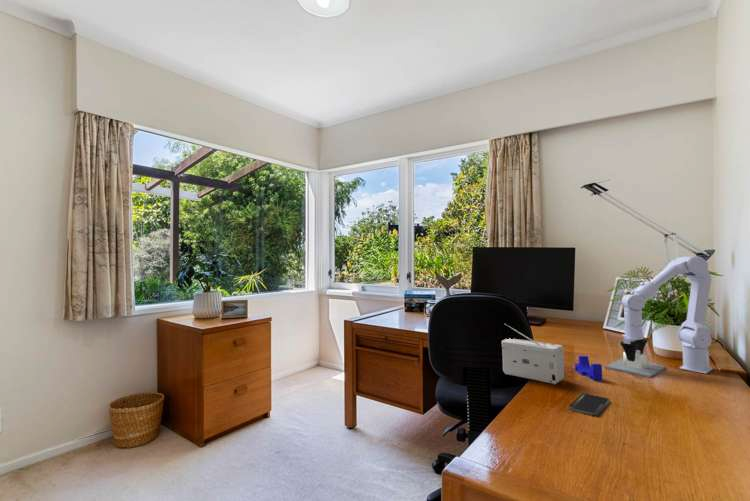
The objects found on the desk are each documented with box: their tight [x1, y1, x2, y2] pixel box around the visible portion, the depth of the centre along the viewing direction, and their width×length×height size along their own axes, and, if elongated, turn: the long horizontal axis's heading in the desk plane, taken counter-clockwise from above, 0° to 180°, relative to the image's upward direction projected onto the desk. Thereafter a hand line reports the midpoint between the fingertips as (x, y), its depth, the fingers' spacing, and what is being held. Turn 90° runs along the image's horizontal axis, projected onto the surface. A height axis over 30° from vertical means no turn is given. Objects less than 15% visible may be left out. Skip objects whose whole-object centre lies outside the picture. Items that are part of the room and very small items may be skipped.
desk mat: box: [604, 358, 667, 379], centre depth 142 cm, size 17×15×1 cm
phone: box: [568, 392, 611, 417], centre depth 109 cm, size 8×1×15 cm
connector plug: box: [622, 350, 649, 369], centre depth 142 cm, size 3×8×6 cm, turn 36°
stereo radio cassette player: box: [501, 323, 565, 385], centre depth 136 cm, size 21×8×20 cm, turn 47°
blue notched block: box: [574, 355, 603, 382], centre depth 136 cm, size 12×4×6 cm, turn 173°
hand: (634, 359), depth 142 cm, fingers open, 7 cm apart
